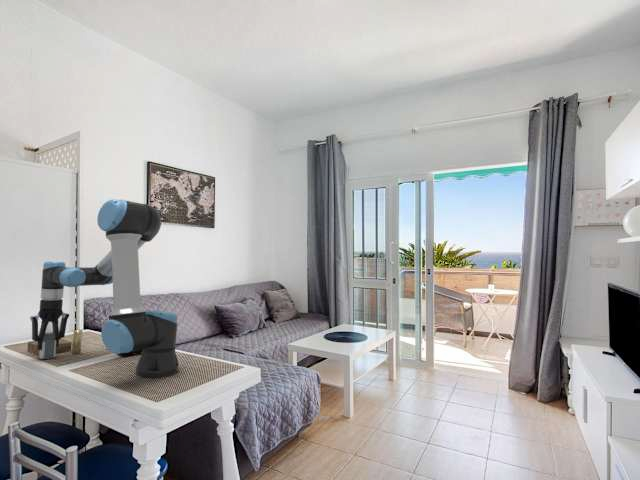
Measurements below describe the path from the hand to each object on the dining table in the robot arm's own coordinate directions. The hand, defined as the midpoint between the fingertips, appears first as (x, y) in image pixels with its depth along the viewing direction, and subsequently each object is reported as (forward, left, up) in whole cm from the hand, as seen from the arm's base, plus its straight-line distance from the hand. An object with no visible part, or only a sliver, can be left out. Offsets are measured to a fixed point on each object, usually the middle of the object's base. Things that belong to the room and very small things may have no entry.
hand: (47, 356), depth 153 cm
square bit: (0, 0, 0) cm, 0 cm away
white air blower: (+28, -12, -1) cm, 31 cm away
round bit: (0, -11, -1) cm, 11 cm away
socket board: (+11, -5, -1) cm, 12 cm away
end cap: (-16, -26, -1) cm, 30 cm away
